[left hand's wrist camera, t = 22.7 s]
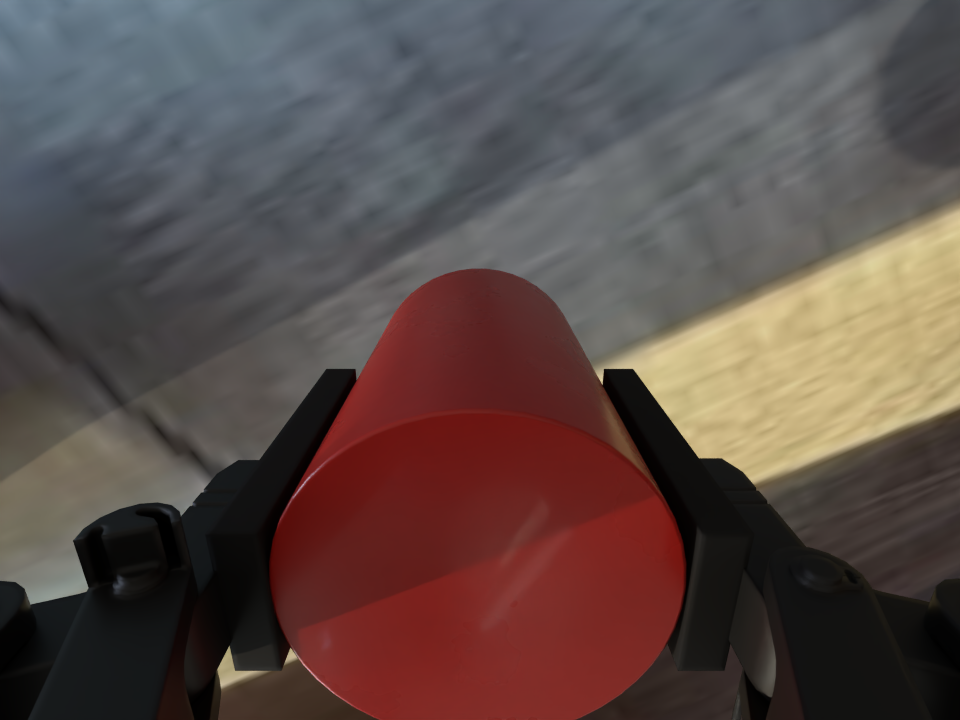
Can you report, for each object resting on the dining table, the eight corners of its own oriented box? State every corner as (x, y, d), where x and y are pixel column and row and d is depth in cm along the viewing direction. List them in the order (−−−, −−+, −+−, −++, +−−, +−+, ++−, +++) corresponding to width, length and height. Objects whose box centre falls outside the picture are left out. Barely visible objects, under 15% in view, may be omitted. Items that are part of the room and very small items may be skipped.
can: (545, 239, 16) (636, 349, 7) (596, 420, 18) (720, 692, 9) (350, 305, 17) (188, 486, 7) (421, 471, 19) (365, 773, 10)
